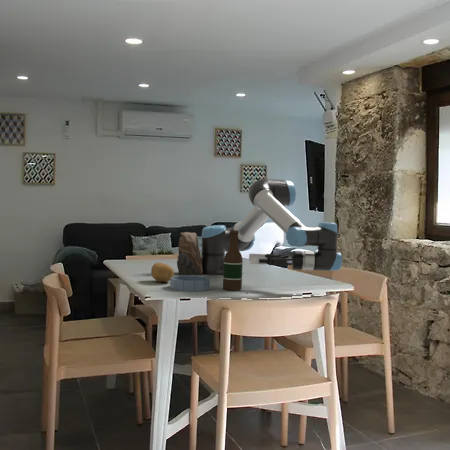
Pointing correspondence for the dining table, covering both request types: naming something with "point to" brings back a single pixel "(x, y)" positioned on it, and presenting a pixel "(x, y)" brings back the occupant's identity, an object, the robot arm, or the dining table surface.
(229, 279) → the beer bottle
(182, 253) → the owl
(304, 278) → the dining table surface
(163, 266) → the potato
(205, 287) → the bowl
